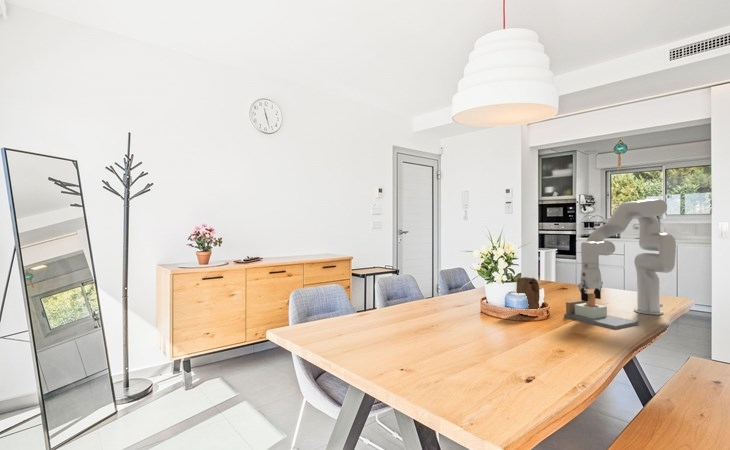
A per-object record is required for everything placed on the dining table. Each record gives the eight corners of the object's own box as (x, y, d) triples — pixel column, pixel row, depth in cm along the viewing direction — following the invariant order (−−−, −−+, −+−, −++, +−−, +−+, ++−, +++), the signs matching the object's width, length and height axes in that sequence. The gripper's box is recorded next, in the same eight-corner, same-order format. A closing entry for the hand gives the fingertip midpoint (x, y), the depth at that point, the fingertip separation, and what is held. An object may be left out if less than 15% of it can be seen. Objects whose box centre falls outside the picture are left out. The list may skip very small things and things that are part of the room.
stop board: (586, 313, 202) (585, 299, 202) (638, 324, 178) (638, 308, 178) (564, 316, 195) (564, 302, 195) (615, 329, 171) (615, 312, 171)
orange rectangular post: (589, 312, 193) (589, 292, 193) (597, 313, 189) (597, 293, 189) (584, 313, 191) (584, 293, 191) (592, 314, 188) (591, 294, 188)
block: (515, 314, 202) (514, 277, 202) (524, 312, 206) (523, 275, 206) (532, 318, 193) (532, 279, 193) (542, 316, 196) (541, 278, 196)
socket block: (587, 312, 197) (587, 302, 197) (606, 316, 188) (606, 306, 188) (574, 314, 193) (574, 304, 193) (593, 318, 184) (593, 308, 184)
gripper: (585, 268, 183) (586, 303, 183) (608, 265, 191) (609, 299, 191) (571, 266, 190) (572, 300, 190) (594, 264, 197) (595, 296, 197)
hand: (591, 299), depth 190 cm, fingers open, 9 cm apart
